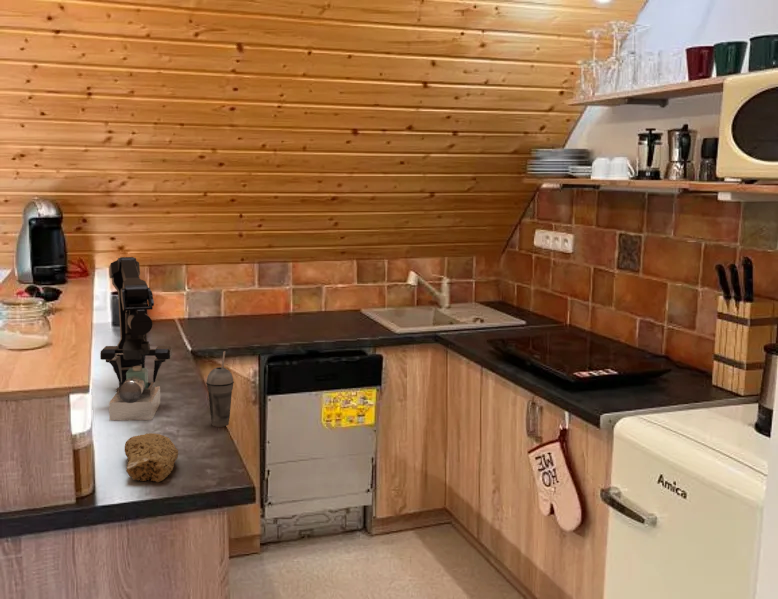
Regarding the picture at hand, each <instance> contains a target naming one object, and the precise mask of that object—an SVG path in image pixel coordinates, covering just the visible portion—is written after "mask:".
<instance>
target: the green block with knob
mask: <svg viewBox="0 0 778 599" xmlns="http://www.w3.org/2000/svg"><path fill="white" fill-rule="evenodd" d="M132 376H137V377H140V378H141V379H142V380H143V381H144V383H145V388H144V389H148V382H149V371H148V367H145V368H142V367H141V366H133V368H130V369H129V370H128V371H127V372H126V380H127V379H128V378H129V377H132Z"/></svg>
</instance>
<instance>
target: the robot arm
mask: <svg viewBox="0 0 778 599" xmlns="http://www.w3.org/2000/svg"><path fill="white" fill-rule="evenodd" d="M108 269H109V274H108V275H109V278H110V279H111V284H112V286H113V287H114V288H115V290H116V291H117V297H118V313H119V314H118V317H119V334H120V338H119V341H118V343H117V345H106V346H104V348H103V349H101V350H100V352H99V353H100V354H99V355H100V360H102V361H104V360H105V363H109V364H110V365H111V366H112V370H113V372H114V374H115V375H116V377H117V380H118V387H117V389H116V390H115V392H116V393H117V391H118V390H119V389H120V387H121V386H122V385H123V384H124V383H125V381H126V372H127V371H128V370H129V369H130V368H133V366H141V367H142V368H146V366H145V365H146V357H153V356H154V357H155V358H154V362H153V364H154V366H153V374H152V378H153V380H152V382H155V383H156V381H157V378H158V374H159V371H160V368H161V366H162V364H163V363H166V361H167V360H170V359H171V358H172V356H173V347H172V346H171V345H157V347H156V348H151V345H150V344H151V343H150V341H148V333H149V332H150V331H151V330H152V328H153V321H152V318H151V317H150V316H149V314H148V310H150V311H151V310H153V307H154V305H155V301H154V297H153V291H152V290H151V288H150V287H149V286H148V284H147V282H146V280H144V279H141V277H140V275H141V268H140V262H139V261H137V258H136V257H134V256H121V257H118V258H117V260H114V261H113V262H111V263H110V264H109V268H108Z"/></svg>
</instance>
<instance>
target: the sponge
mask: <svg viewBox="0 0 778 599" xmlns="http://www.w3.org/2000/svg"><path fill="white" fill-rule="evenodd" d="M124 444H125V445H124V454H125V456H126V457H127V460H128V462H127V467H126V473H127V474H128V475H129V477H130V478H131V479H132V480H134V481H139V480H140V482H146V481H147V480H149V481H151V482H154V481H156V482H155V483H160V482H162V481H165V479H166V478H168V476H169V475H170V474H171V473H172V471H174V466H175V462H176V461H177V459H178V458H179V456H178V455H179V450H178V449H177V447H176V446H175V444H174V442H173V441H172V440H171V438H169V437H167V436H165V435H163V434H160V433H151V432H149V433H144V434H140V435H133V436H131V437H129V438H128V439H127V440H126V441H125V443H124ZM150 479H151V480H150Z"/></svg>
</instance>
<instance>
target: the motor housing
mask: <svg viewBox="0 0 778 599" xmlns="http://www.w3.org/2000/svg"><path fill="white" fill-rule="evenodd" d="M144 388H145V383H144V381H143V380H142V379H141V378H140V377H137V376H132V377H129V378H128V379H127V380H126V381H125V383H124V384H123V385H122V386H121V387H120V389H119V390H118V391H117V392H116V393H114V395H113V397H112V398H111V399H110V401H108V408H109V409H108V410H109V411H108V413H109V421H110V420H114V421H153V419H154V416H155V415H156V413H157V410H158V409H159V407H160V405H161V386H156V381H155V382H153V381H148V389H144Z"/></svg>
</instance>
